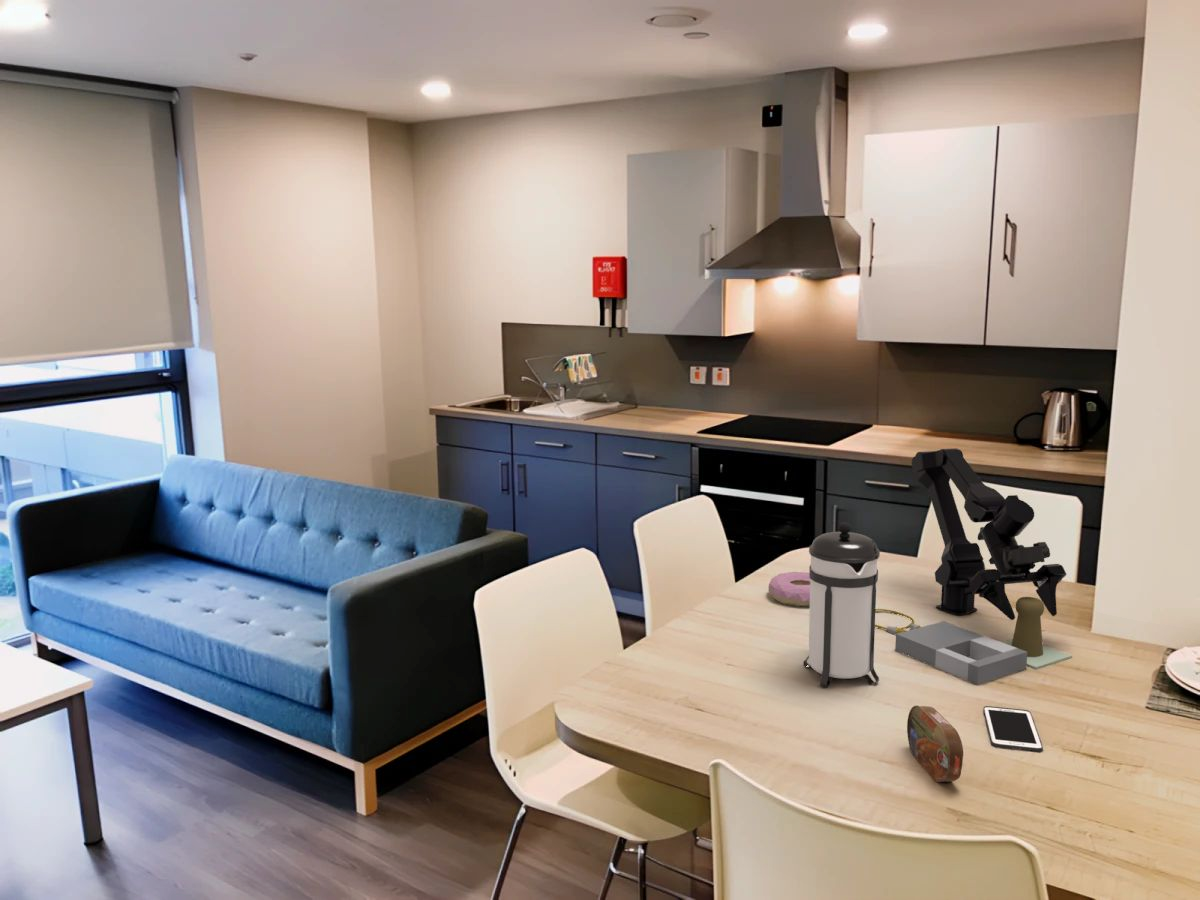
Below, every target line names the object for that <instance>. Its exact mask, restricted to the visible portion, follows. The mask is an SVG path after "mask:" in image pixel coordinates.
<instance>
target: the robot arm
mask: <svg viewBox="0 0 1200 900" xmlns="http://www.w3.org/2000/svg"><path fill="white" fill-rule="evenodd" d="M911 468H912V470H913V472H914V474H915V476H916V479H917V481H918V482H920V484H921V485H922V486H924V487H925V488H926V489H927V490H928V494H929V497H930V500H931V503H932V504H931V505H932V506H933V511H934V514H935V517H936V520H937V524H938V527H939V530H940V534H941V537H942V541H943V544H944V548H943V551H942V554H941V558H940V561H941V564H940V565H939V567H938V568H937V569H936V571H935V572H934V576H935V577H934V578H935V582H936V583H938V584H939V585H941V595H940V596H941V597H940V599H941V600H940V604H938V605H935V608H936V609H939V610H941V611H945V612H947V613H950V614H953V615H956V616H962V615H966V614H970V613H974V612H977V611H978V608H977V607H975V596H976V595H978V596H979V598H983V599H985V600H986V601H988V602H989V603H990V604H991V605H993V606H994V607H996V609H998V610H999V611H1000V612H1001V613H1002V614H1003V615H1005V617H1007V618H1008V619H1009V620H1011V621H1014V620H1015V619H1016V616H1015V611H1014V610H1013V607H1012V605H1011V603H1010V600H1009V598H1008V595H1007V593H1006V585H1010V584H1012V585H1013V584H1023V583H1032V584H1033V586H1035V587H1036V588H1037V589H1035V592H1036V594H1037V595H1038V597H1039V598H1040V599H1039V600H1041V601H1042V602H1043V604H1044V608H1046V610H1047V611H1048V613H1049V614H1050V615H1051V616H1052V617H1055V616H1056V615H1057V614H1058V612H1057V610H1058V609H1057V595H1056V593H1057V586H1058V584H1059V583H1060V582H1061V581H1062V580H1063V579H1064V578H1065V577H1066V576H1067V572H1066V570H1065V568H1064V566H1063V565H1062V564H1060V563H1050V564H1043V565H1041V566H1040V567H1039V569H1038V570H1036V571H1031V570H1033V569H1034V568H1035V567H1036V564H1037V563H1045V559H1048V558H1049V557H1050V556H1051V551H1050V548H1049V546H1048V544H1047V543H1046V541H1040V542H1039V541H1038V542H1036V543H1033V544H1032V546H1024V544H1018V541H1017V540H1016V537H1018V536H1019V535H1020V534H1022V532H1023V531H1024V530H1025V529H1026V528H1027V527H1028V525H1030V523H1031V522H1032V521H1033V520H1034V518H1035V511H1034V509H1033V507H1031V505H1029V504H1028V503H1027V502H1025V501H1024V500H1022V499H1020V498H1019V496H1018V495H1017V494H1011V495H1007V496H1006V498H1005V496H1003V495H1002V494H1001V493H1000V492H999V491H997V490H996V488H992V487H990V486H988V485H986V484H985V483H984V482H983V481H982V480H981V478H980V477H979V476H978V474H977V473H976V471H974V469H973V468H972V467H971V465H970V464H969V462H967V460H966V459H965V458H964V454H963V451H962V450H961V449H958V448H956V447H955V448H941V449H939V450H938V449H937V450H932V451H931V450H929V451H917V452H916V454H915V455H914V456H913V457H912V460H911ZM950 481H952V483H953V484H954V486H955V487H956V488H957V489H958V491H959V492H960V495H962V497H963V498H964V506H963V509H964V510H965V512H966V515H967V516H968V518H969V519H970V521H971V522H973V523H986V524H985V525H984V526H982V527H980V528H979V532H978V534H977V541H984V543H985V545H986V547H987V550H988V552H989V554H990V555H989V556H991V557H990V558H989V559H988V562H989V564H990V565H994V566H995V568H992V569H991V568H988V569H986V565H985V562H984V557H983V556H982V553H981V548H980V546H979V544H978V543H977V542H971V541H970V540H968V538H967V535H966V532H965V529H964V526H963V522H962V519H961V516H960V513H959V510H958V507H957V504H956V500H955V497H954V494H953V490H952V488H951V484H950Z"/></svg>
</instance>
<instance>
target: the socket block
mask: <svg viewBox="0 0 1200 900" xmlns="http://www.w3.org/2000/svg"><path fill="white" fill-rule="evenodd" d="M1002 642H1003V641H999V640H996V639H993V638H991V637H988V636H986V635H982V634H980V633H979V632H975V631H972V630H969V629H966V628H964V627H961V626H957V625H955V624H953V623H950V622H948V621H944V620H942V621H939V622H936V623H932V624H929V625H923V626H920V628H916V629H913V630H912V629H909V630H906V631H905V632H901V633H898V634H896V635H895V644H894V645H895V646H894V647H895V648H894V651H896V652H898V651H899V652H898V653H900V652H901V653H900V654H903V653H904V654H903V655H905V654H906V655H905V656H907V655H909V656H908V657H910V656H911V657H910V658H912V657H913V659H915V660H917V659H918V661H919V660H920V662H921V663H924V662H925V663H924V664H926V663H927V665H929V666H931V665H932V667H933V666H934V667H935V668H936V669H938V668H939V669H938V670H941V671H944V672H945V671H946V672H945V673H947V674H950V675H952V674H953V676H955V677H957V678H960V679H962V680H965V681H967V682H970V683H972V684H974V685H977V686H978V685H982V684H984V683H988V682H992V681H993V680H996V679H1000V678H1003V677H1005V676H1009V675H1012V674H1016V673H1019V672H1022V671H1024V670H1027V667H1028V666H1027V651H1024V650H1021V649H1018V648H1016V647H1013V646H1010V645H1008V644H1005V643H1002Z"/></svg>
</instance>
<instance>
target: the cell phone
mask: <svg viewBox="0 0 1200 900" xmlns="http://www.w3.org/2000/svg"><path fill="white" fill-rule="evenodd" d="M982 712H983V716H984V718H985V724H986V729H987V734H988V737H989V742H990V744H991V746H992V747H994V748H995V749H997V748H998V749H1007V750H1020V751H1023V752H1032V753H1042V752H1043V750H1044V748H1043V744H1042V740H1041V737H1040V734H1039V731H1038V729H1037V726H1036V724H1035V720H1034V718H1033V717H1034V716H1033V714H1032V712H1031V711H1030V710H1028V709H1021V708H1012V707H1011V708H1010V707H999V706H991V705H986V706H985V705H984V706H983V710H982Z"/></svg>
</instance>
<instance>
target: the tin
mask: <svg viewBox="0 0 1200 900" xmlns="http://www.w3.org/2000/svg"><path fill="white" fill-rule="evenodd" d="M906 722H907V723H906V733H907V740H908V741H907V742H908V746H909V749H910V751H911V753H912V755H913V758H915V759H916V760H917V762H918V763H919V764H920V765H921V766H922V767H923V768H924V770H925V771H926V772H927V774H929V776H930V777H931V778H932V779H933V780H934V781H936V782H937V783H942V782H956V781H957V780H959V779H960V777H961V775H962V769H963V759H964V747H963V742H962V738H961V736H960V734H959V733H958V731H957V729H956V728H955V727H954V726H953V725H952V724H951V723H950V722H949V721H948V720H947V719H946V718H945V717H944V716H943V715H942V714H941V713H940V712H938V711H937V709H936V708H934V707H933V706H923V705H913V706H912V707H911V708H910V710H909V712H908V716H907V720H906Z"/></svg>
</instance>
